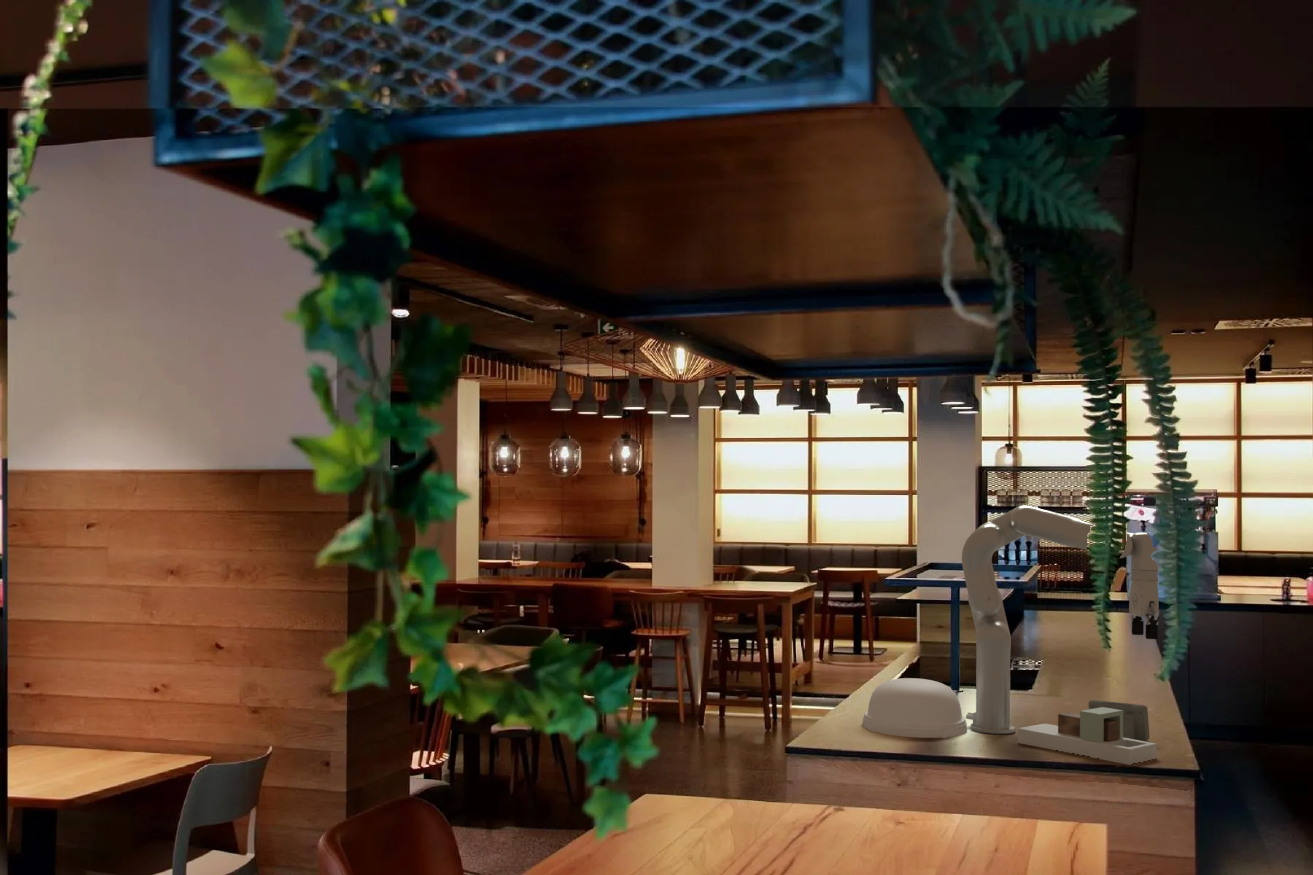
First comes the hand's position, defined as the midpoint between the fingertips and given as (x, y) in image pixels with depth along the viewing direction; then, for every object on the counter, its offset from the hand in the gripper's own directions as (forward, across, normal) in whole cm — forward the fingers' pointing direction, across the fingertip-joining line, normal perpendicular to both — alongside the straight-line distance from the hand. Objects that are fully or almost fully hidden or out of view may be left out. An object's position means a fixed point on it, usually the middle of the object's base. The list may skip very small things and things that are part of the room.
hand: (1144, 636), depth 351 cm
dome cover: (+30, -13, -62) cm, 70 cm away
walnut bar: (+25, +16, -22) cm, 37 cm away
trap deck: (+29, +16, -22) cm, 40 cm away
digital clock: (+29, -2, -6) cm, 30 cm away
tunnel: (+25, +19, -19) cm, 37 cm away
